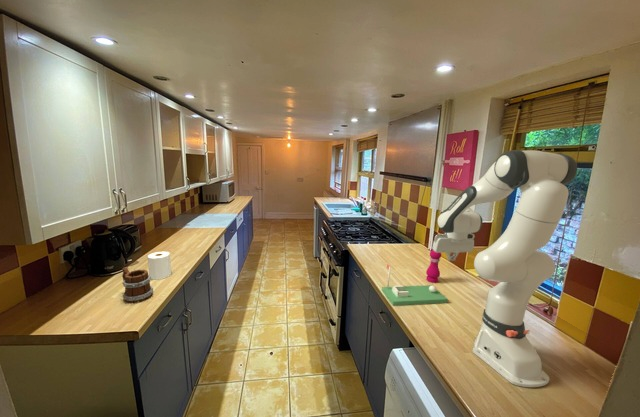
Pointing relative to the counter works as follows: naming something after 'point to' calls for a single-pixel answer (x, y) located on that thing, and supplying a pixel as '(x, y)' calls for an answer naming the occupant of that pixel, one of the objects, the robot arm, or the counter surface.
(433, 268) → the pepper mill
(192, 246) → the counter surface
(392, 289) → the green
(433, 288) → the ball
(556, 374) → the counter surface
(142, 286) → the wooden bucket
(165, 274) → the toilet paper
